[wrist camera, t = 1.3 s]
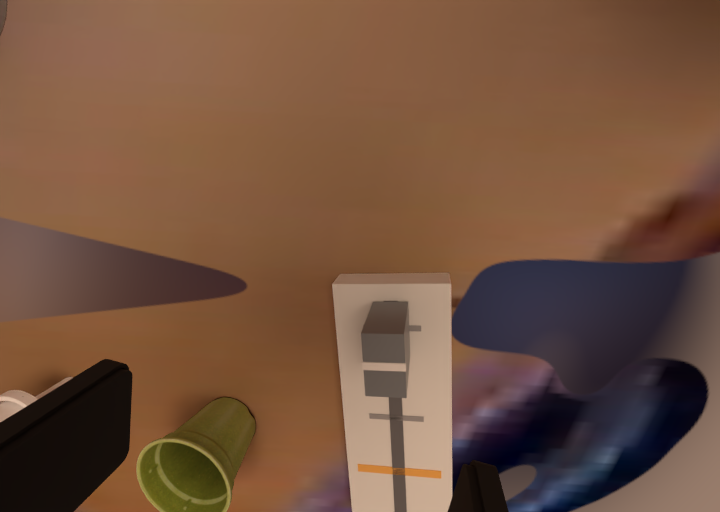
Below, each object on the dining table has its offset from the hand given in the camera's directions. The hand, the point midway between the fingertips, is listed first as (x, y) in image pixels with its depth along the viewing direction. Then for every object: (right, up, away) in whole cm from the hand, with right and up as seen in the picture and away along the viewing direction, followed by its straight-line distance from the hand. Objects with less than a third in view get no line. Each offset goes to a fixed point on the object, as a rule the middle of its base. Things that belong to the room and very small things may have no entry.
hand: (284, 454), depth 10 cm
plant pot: (-12, -13, +32) cm, 37 cm away
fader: (+5, -1, +22) cm, 23 cm away
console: (+6, -9, +27) cm, 29 cm away
